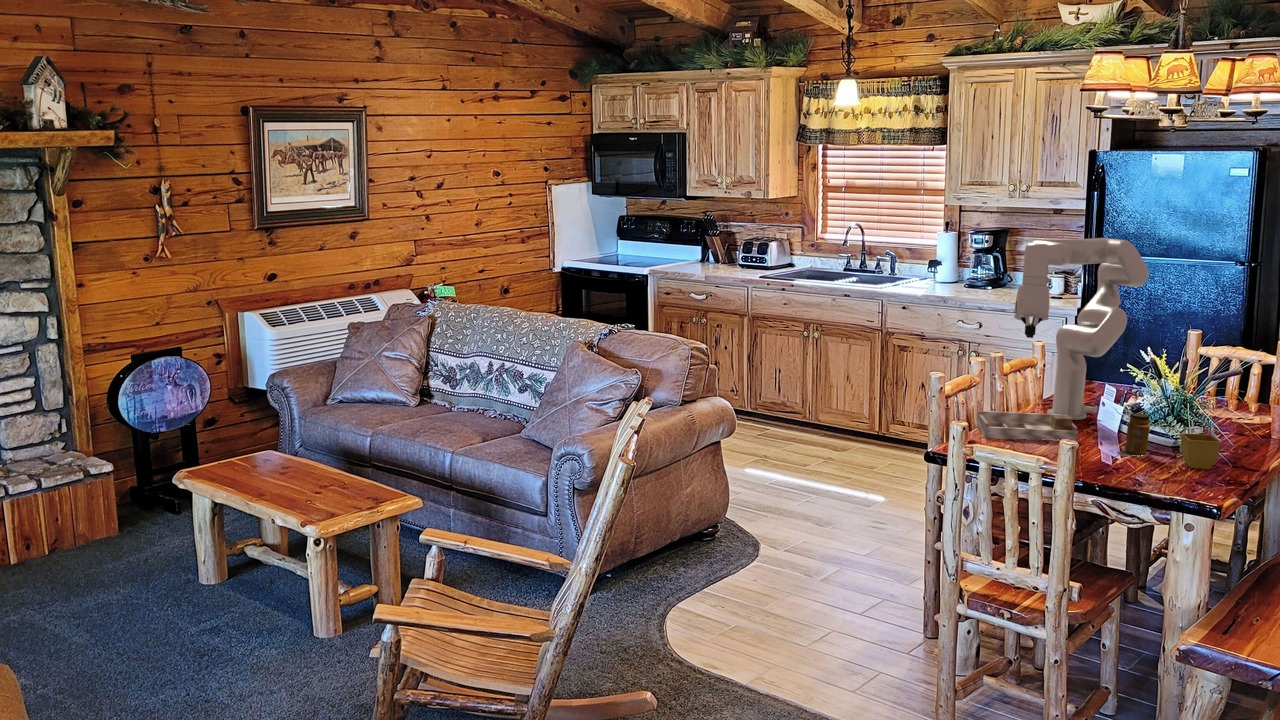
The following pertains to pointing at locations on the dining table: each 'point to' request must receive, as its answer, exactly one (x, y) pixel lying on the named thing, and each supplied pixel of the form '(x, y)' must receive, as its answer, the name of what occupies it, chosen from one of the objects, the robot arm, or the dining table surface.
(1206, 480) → the dining table surface
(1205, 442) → the flower pot
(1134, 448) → the condiment
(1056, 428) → the walnut block
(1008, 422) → the compartment box
